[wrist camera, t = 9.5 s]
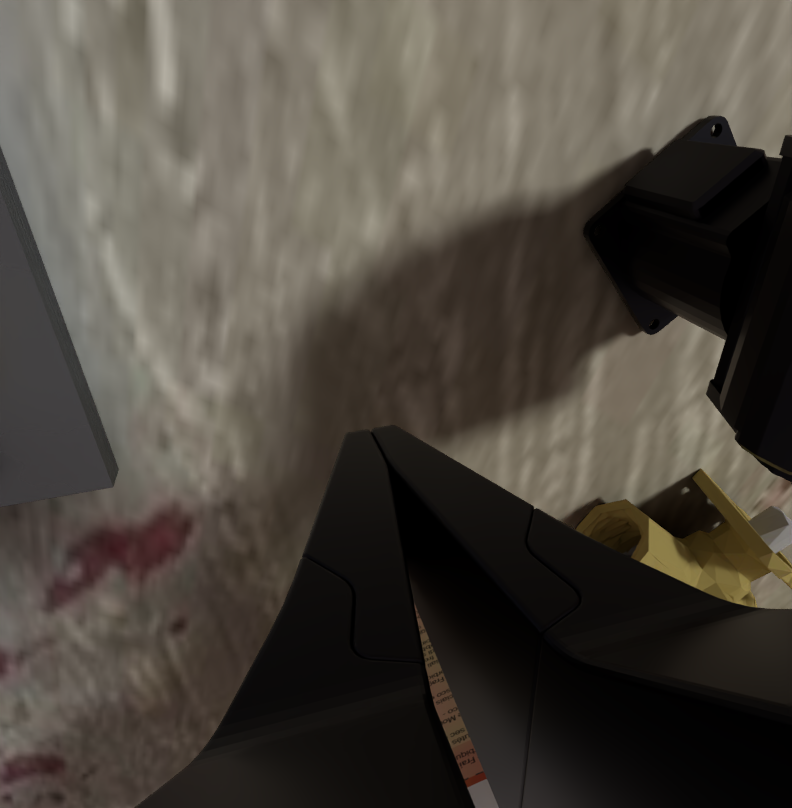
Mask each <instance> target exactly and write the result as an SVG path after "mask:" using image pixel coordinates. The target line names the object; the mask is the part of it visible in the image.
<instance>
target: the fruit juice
mask: <svg viewBox="0 0 792 808" xmlns="http://www.w3.org/2000/svg"><path fill="white" fill-rule="evenodd" d="M414 605H415V603H414ZM415 610H416V616H417V621H418V626H419V632H420V637H421V642H422V648H423V653H424V658H425V664H426V670H427V675H428V680H429V684H430V689H431V693H432V697H433V701H434V706H435V708H436V711H437V713H438V716H439V718H440V721H441V723H442V726H443V728H444V731H445V733H446V736H447V738H448V741H449V743H450V746H451V748H452V751H453V753H454V756H455V758H456V761H457V763H458V766H459V768H460V771H461V773H462V776H463V778H464V780H465V783H466V785H467V788H468V790H469V793H470V795H471V798H472V800H473V803H474V805H475V808H499V807H498V805H497V802H496V800H495V797H494V795H493V792H492V790H491V788H490V785H489V783H488V780H487V778H486V775H485V773H484V771H483V768H482V766H481V763H480V761H479V759H478V756H477V754H476V751H475V749H474V746H473V744H472V742H471V739H470V737H469V734H468V732H467V729H466V727H465V725H464V722H463V720H462V717H461V715H460V712H459V710H458V708H457V705H456V703H455V700H454V698H453V696H452V693H451V691H450V688H449V686H448V683H447V681H446V679H445V676H444V674H443V671H442V669H441V666H440V664H439V662H438V659H437V657H436V654H435V652H434V649H433V647H432V645H431V642H430V640H429V637H428V635H427V633H426V630H425V628H424V625H423V623H422V620H421V618H420V616H419V613H418V611H417V608H416V606H415Z"/></svg>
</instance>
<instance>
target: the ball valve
mask: <svg viewBox="0 0 792 808" xmlns="http://www.w3.org/2000/svg"><path fill="white" fill-rule="evenodd" d="M692 478H693V480H694V481H695V482H696V483H697V485H698V486H699V487H700V488H701V489H702V491H703V492H704V493H705V494H706V495H707V497H708V498H709V499H710V500H711V501H712V503H713V504H714V505H715V506H716V507H717V509H718V510H719V511H720V512H721V514H722V515H723V516H724V517H725V522H724V523H722V524H721V525H719V526H718V527H717V528H715V529H714V530H712V531H711V532H710V533H707V532H703V531H700V530H699V531H697V532H695V533H693V534H691V535H689V536H687V537H685V538H683V539H681V538H677V537H673V536H672V535H671V534H669V533H668V532H667V531H666V530H664V529H663V528H662V527H660V526H659V525H658V524H657V523H655V522H654V521H653V520H652V519H650V518H649V517H648V516H647V515H645V514H644V513H643V512H641V511H640V510H639V509H638V508H636V507H635V506H634V505H633V504H631V503H630V502H629V501H628V500H626V499H625V500H621V501H616V502H611V503H607V504H602V505H597V506H596V507H595V508H594V509H592V510H591V511H590V513H589V514H588V515H587V516H586V517H585V518H584V520H583V521H582V522H581V523H580V524H579V525H578V526H577V528H576V529H575V530H577V531H578V532H580V533H582V534H584V535H586V536H588V537H590V538H592V539H594V540H596V541H598V542H600V543H602V544H604V545H606V546H608V547H610V548H612V549H614V550H616V551H618V552H620V553H622V554H625V555H627V556H629V557H631V558H633V559H635V560H637V561H640V562H642V563H644V564H646V565H648V566H650V567H652V568H654V569H657V570H659V571H661V572H663V573H665V574H667V575H669V576H672V577H674V578H676V579H678V580H680V581H682V582H684V583H686V584H689V585H691V586H693V587H695V588H697V589H699V590H701V591H704V592H706V593H708V594H711V595H713V596H715V597H718V598H721V599H724V600H727V601H730V602H733V603H737V604H741V605H745V606H750V607H757V604H756V600H755V597H754V596H753V594H752V593H751V591H750V583H751V582H752V581H754V580H756V579H758V578H760V577H762V576H764V575H766V574H768V573H770V572H773V573H774V574H775V575H776V576H777V577H778V578H779V579H780V578H781V579H782V580H783V581H784V582H785V583H786V584H787V585H788V586H789V587H790V588H791V589H792V564H791V563H790V562H789V561H788V559H787V558H786V557H785V556H784V555H783V554H782V553H781V552H780V550H782V549H783V548H785V547H787V546H788V545H790V544H791V543H792V520H791V519H789V518H788V517H787V516H786V515H785V514H784V513H783V512H782V511H781V509H780V508H779V507H774V506H770V507H769V508H767V509H766V510H764V511H763V512H761V513H760V514H758V515H757V516H755V517H754V518H752V519H751V518H750V517H749V516H748V515H747V514H746V513H745V512H744V511H743V510H742V509H740V508H739V507H738V506H737V505H736V504H735V503H734V502H733V501H732V500H731V499H730V498H729V497H728V496H727V495H726V494H725V493H724V492H723V490H722V489H721V488H720V487H719V486H718V485H717V484H716V483H715V482H714V481H713V480H712V479H711V478H710V477H709V476H708V475H707V474H706V473H705V472H704V471H703V470H702V469H700V470H699V471H698V472H697V473H696V474H695V475H694V476H693V477H692Z"/></svg>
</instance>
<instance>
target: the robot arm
mask: <svg viewBox="0 0 792 808" xmlns="http://www.w3.org/2000/svg"><path fill="white" fill-rule="evenodd" d="M714 125H715V130H714V133H713V134H712V135H711V134H710V132H711V128H712V127H713V126H714ZM779 155H782V156H783V157H782V159H781V158H774V157H766V154H765V151H764V150H762V149H756V148H747V147H739V146H737V145H736V142H735V140H734V137H733V134H732V132H731V129H730V127H729V124H728V121H727V120H726V118H725V117H722V116H709V117H707V118H705V119H704V120H703V121H702V122H701V123H699V124H698V125H697V126H696V127H695V128H694V129H693V130H691V131H690V132H689V133H688V134H687V135H686V136H685V137H683V138H682V139H681V140H679V139H678V140H676V141H674V142H673V143H672V144H671V145H670V146H669V147H667V148H666V149H665V150H664V151H663V152H662V153H661V154H659V155H658V156H657V157H656V158H655V159H654V160H653V161H651V162H650V163H649V164H648V165H647V166H646V167H645V168H643V169H642V170H641V171H640V172H639V173H638V174H637V175H635V176H634V177H633V178H632V179H631V180H630V181H629V182H628V183H626V185H625V187H624V189H623V191H622V192H621V193H619V194H618V195H617V196H616V197H615V198H614V199H613V200H611V201H610V202H609V203H608V204H607V205H606V206H605V207H603V208H602V209H601V210H600V211H599V212H598V213H597V214H595V215H594V216H593V217H592V218H591V219H590V220H589V221H588V222H587V223H586V225H585V227H584V233H583V234H584V237H585V239H586V241H587V242H588V244H589V246H590V247H591V249H592V251H593V252H594V254H595V256H596V257H597V259H598V261H599V262H600V264H601V265H602V267H603V269H604V270H605V272H606V274H607V275H608V277H609V279H610V280H611V282H612V284H613V285H614V287H615V289H616V290H617V292H618V293H619V295H620V297H621V298H622V300H623V302H624V303H625V305H626V307H627V308H628V310H629V312H630V313H631V315H632V317H633V318H634V320H635V321H636V323H637V325H638V326H639V328H640V329H641V330H642V331H643V332H645V333H647V334H650V335H653V334H656V333H657V332H659V331H660V330H661V329H663V328H664V327H665V326H666V325H668V324H669V323H670V322H671V321H672V320H674V319H675V318H676V317H677V316H680V317H682V318H684V319H686V320H688V321H689V322H691V323H693V324H695V325H697V326H699V327H701V328H703V329H705V330H707V331H709V332H711V333H713V334H715V335H716V336H718V337H720V338H722V339H724V340H726V341H725V345H724V348H723V351H722V354H721V358H720V361H719V364H718V367H717V370H716V374H715V377H714V379H712V380H710V382H709V386H708V389H707V392H706V395H707V396H708V398H709V399H710V400H711V401H712V403H713V404H714V405H715V407H716V408H717V409H718V411H719V412H720V413H721V414H722V416H723V417H724V418H725V420H726V421H727V422H728V424H729V425H730V426H731V427H732V429H733V430H734V431H735V433H736V435H735V440H736V441H737V443H738V444H739V445H740V446H741V447H742V448H743V449H744V450H746V451H747V452H749V453H750V454H752V455H753V456H754V457H755V458H756V459H757V460H758V461H759V462H760V463H761V464H762V465H763V466H765V467H766V468H768V470H769V471H770V472H772V473H773V474H775V475H777V476H780V477H782V478H784V479H786V480H788V481H790V482H792V135H785V138H784V141H783V144H782V148H781V151H780V154H779ZM599 225H600V227H601V229H600V232H599V233H598V234H597V235H595V234H594V232H595V229H596V228H597V226H599ZM652 320H654V321H653V323H652V324H651V325H650V326H649V324H650V322H651V321H652ZM791 484H792V483H791ZM414 603H415V605H414ZM415 606H416V608H417V611H418V613H419V616H420V618H421V620H422V623H423V625H424V628H425V630H426V633H427V635H428V637H429V640H430V642H431V645H432V647H433V649H434V652H435V654H436V657H437V659H438V662H439V664H440V666H441V669H442V671H443V674H444V676H445V679H446V681H447V683H448V686H449V688H450V691H451V693H452V696H453V698H454V700H455V703H456V705H457V708H458V710H459V712H460V715H461V717H462V720H463V722H464V725H465V727H466V729H467V732H468V734H469V737H470V739H471V742H472V744H473V746H474V749H475V751H476V754H477V756H478V759H479V761H480V763H481V766H482V768H483V771H484V773H485V775H486V778H487V780H488V783H489V785H490V788H491V790H492V792H493V795H494V797H495V800H496V802H497V805H498V807H499V808H792V609H765V608H757V607H750V606H745V605H741V604H737V603H733V602H730V601H727V600H724V599H721V598H718V597H715V596H713V595H711V594H708V593H706V592H704V591H701V590H699V589H697V588H695V587H693V586H691V585H689V584H686V583H684V582H682V581H680V580H678V579H676V578H674V577H672V576H669V575H667V574H665V573H663V572H661V571H659V570H657V569H654V568H652V567H650V566H648V565H646V564H644V563H642V562H640V561H637V560H635V559H633V558H631V557H629V556H627V555H625V554H622V553H620V552H618V551H616V550H614V549H612V548H610V547H608V546H606V545H604V544H602V543H600V542H598V541H596V540H594V539H592V538H590V537H588V536H586V535H584V534H582V533H580V532H578V531H577V530H575V529H573V528H571V527H569V526H568V525H566V524H564V523H562V522H560V521H559V520H557V519H555V518H553V517H552V516H550V515H548V514H546V513H545V512H543V511H541V510H540V509H537V508H536V509H534V507H533V506H532V505H531V504H529V503H527V502H526V501H524V500H522V499H520V498H519V497H517V496H515V495H514V494H512V493H510V492H508V491H507V490H505V489H503V488H502V487H500V486H498V485H497V484H495V483H493V482H491V481H490V480H488V479H486V478H485V477H483V476H481V475H479V474H478V473H476V472H474V471H473V470H471V469H469V468H467V467H466V466H464V465H462V464H461V463H459V462H457V461H456V460H454V459H452V458H450V457H449V456H447V455H445V454H444V453H442V452H440V451H438V450H437V449H435V448H433V447H432V446H430V445H428V444H426V443H425V442H423V441H421V440H420V439H418V438H416V437H414V436H413V435H411V434H409V433H408V432H406V431H404V430H403V429H401V428H399V427H397V426H395V425H389V426H384V427H378V428H374V429H372V431H371V432H370V431H369V430H361V431H355V432H349V433H347V434H346V435H345V437H344V439H343V442H342V445H341V448H340V451H339V453H338V456H337V459H336V462H335V465H334V468H333V470H332V473H331V476H330V479H329V482H328V484H327V487H326V490H325V493H324V496H323V499H322V501H321V504H320V507H319V510H318V513H317V516H316V518H315V521H314V524H313V527H312V530H311V533H310V535H309V538H308V541H307V544H306V547H305V550H304V552H303V555H302V559H301V560H300V563H299V566H298V569H297V571H296V574H295V577H294V580H293V582H292V584H291V587H290V589H289V592H288V594H287V597H286V599H285V602H284V604H283V606H282V608H281V610H280V612H279V614H278V616H277V618H276V620H275V622H274V624H273V626H272V628H271V630H270V632H269V634H268V636H267V638H266V640H265V642H264V644H263V646H262V647H261V649H260V651H259V653H258V655H257V657H256V659H255V660H254V662H253V664H252V666H251V668H250V670H249V672H248V673H247V675H246V677H245V679H244V681H243V683H242V685H241V686H240V688H239V690H238V692H237V694H236V696H235V698H234V699H233V701H232V703H231V705H230V707H229V709H228V711H227V712H226V714H225V716H224V718H223V720H222V721H221V723H220V725H219V727H218V728H217V730H216V732H215V733H214V735H213V736H212V738H211V739H210V741H209V742H208V743H207V744H206V746H205V747H204V748H203V750H202V751H201V752H200V753H199V755H198V756H197V757H196V758H195V759H194V760H193V761H192V762H191V763H190V764H189V765H188V766H187V767H186V768H184V769H183V770H182V771H181V772H179V773H178V774H177V775H176V776H174V777H173V778H172V779H170V780H169V781H168V782H167V783H165V784H164V785H163V786H162V787H160V788H159V789H158V790H156V791H155V792H154V793H153V794H151V795H150V796H149V797H147V798H146V799H145V800H144V801H142V802H141V803H140V804H138V805H137V806H136V807H135V808H475V805H474V803H473V800H472V798H471V795H470V793H469V790H468V788H467V785H466V783H465V780H464V778H463V776H462V773H461V771H460V768H459V766H458V763H457V761H456V758H455V756H454V753H453V751H452V748H451V746H450V743H449V741H448V738H447V736H446V733H445V731H444V728H443V726H442V723H441V721H440V718H439V716H438V713H437V711H436V708H435V706H434V701H433V697H432V693H431V689H430V684H429V680H428V675H427V670H426V664H425V658H424V653H423V648H422V642H421V637H420V632H419V626H418V621H417V616H416V610H415Z"/></svg>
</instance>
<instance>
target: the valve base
mask: <svg viewBox="0 0 792 808" xmlns="http://www.w3.org/2000/svg"><path fill="white" fill-rule="evenodd" d="M118 470H119V469H118V466H117V463H116V461H115V458H114V455H113V452H112V450H111V447H110V444H109V441H108V439H107V436H106V433H105V431H104V428H103V425H102V422H101V420H100V417H99V414H98V411H97V409H96V406H95V403H94V401H93V398H92V395H91V392H90V390H89V387H88V384H87V381H86V379H85V376H84V373H83V371H82V368H81V365H80V362H79V360H78V357H77V354H76V351H75V349H74V346H73V343H72V341H71V338H70V335H69V332H68V330H67V327H66V324H65V321H64V319H63V316H62V313H61V311H60V308H59V305H58V302H57V300H56V297H55V294H54V291H53V289H52V286H51V283H50V281H49V278H48V275H47V272H46V270H45V267H44V264H43V261H42V259H41V256H40V253H39V250H38V248H37V245H36V242H35V240H34V237H33V234H32V231H31V229H30V226H29V223H28V220H27V218H26V215H25V212H24V210H23V207H22V204H21V201H20V199H19V196H18V193H17V190H16V188H15V185H14V182H13V180H12V177H11V174H10V171H9V169H8V166H7V163H6V160H5V158H4V155H3V152H2V150H1V147H0V507H3V506H9V505H14V504H20V503H26V502H31V501H37V500H43V499H48V498H54V497H60V496H66V495H71V494H77V493H83V492H88V491H94V490H100V489H105V488H111V487H113V486H114V483H115V480H116V476H117V473H118Z"/></svg>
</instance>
